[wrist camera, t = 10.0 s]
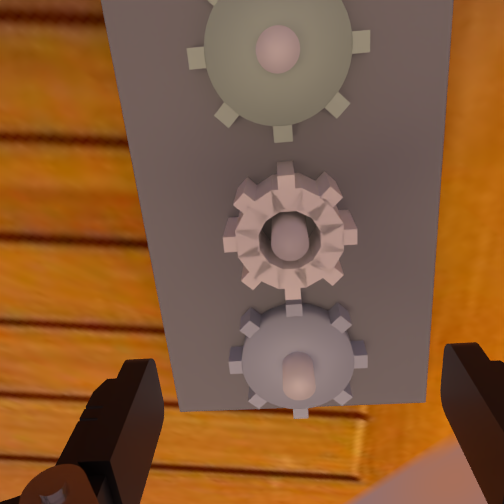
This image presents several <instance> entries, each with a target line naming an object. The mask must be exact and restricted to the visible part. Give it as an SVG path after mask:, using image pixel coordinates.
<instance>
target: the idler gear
mask: <svg viewBox="0 0 504 504" xmlns="http://www.w3.org/2000/svg"><path fill="white" fill-rule="evenodd" d="M342 198H343V196H342V194H341V192H340V190H339V188H338V186H337V183H336V181H335V180H334V179H332V178H331V177H330V176H329V175H328V174H327V173H326V172H325V171H324V172H323V173H322V174H321V175H320V176H319V177H318V178H317V180H316V181H315V180H313V179H311V178H309V177H307V176H305V175H302V174H300V173H294V167H293V161H284V162H277V174H275V175H271V176H270V177H268V178H267V179H265V180H264V181H262V182H261V183H259V184H258V185H256V184H255V183H254V182H253V181H252V180H250V179H249V178H248V177H247V178H246V179H245V180H244V181H243V182H242V184H241V185H240V186H239V187H238V189H237V192H236V196H235V199H234V203H233V205H234V206H235V207H236V208H237V209H238V210H240V212H239V216H238V217H230V218H228V221H227V224H226V228H225V231H224V235H223V245H224V253H226V252H238V258H239V259H240V260H241V262H242V263H243V264H244V265H243V271H242V278H241V281H242V282H243V283H244V284H246V285H247V286H248V287H249V288H251V289H252V290H254V289H255V288H256V287H257V286H258V285H259V284H260V283H261V281H262V282H264V283H266V284H268V285H271V286H273V287H275V288H277V289H285V300H295V299H301V289H300V288H307V287H308V286H310V285H312V284H313V283H315V282H317V281H319V280H320V279H322V278H323V279H325V280H326V281H327V282H328V283H330V284H331V285H332V286H333V285H334V284H335V283H336V282H337V281H338V280H339V279H340V278H341V277H342V276H343V275H344V274H343V271H342V268H341V265H340V261H339V258H340V257H341V255H342V253H343V252H344V245H356V244H357V227H356V225H355V223H354V220H353V218H352V216H351V214H350V212H349V210H338V208H337V206H336V204H337V203H338V202H339V201H340V200H341V199H342ZM290 211H297V212H300V213H302V214H304V215H306V216H308V217H310V218H312V219H313V221H314V222H315V224H316V227H315V229H314V230H313V232H312V234H311V236H310V237H309V248H308V251H307V252H306V254H305V255H304V256H303V257H302V258H300V259H298V260H295V261H285V260H282V259H280V258H278V257H277V256H276V255H275V254H274V252H273V250H272V247H271V241H270V240H269V239H268V238H267V236H266V235H265V233H264V232H263V231H262V227H263V225H264V223H265V221H267V220H268V219H270V218H271V217H273V216H274V215H276V214H278V213H279V212H290Z"/></svg>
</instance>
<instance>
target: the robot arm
mask: <svg viewBox="0 0 504 504" xmlns="http://www.w3.org/2000/svg"><path fill="white" fill-rule="evenodd" d="M441 401H442V406H443V410H444V412H445V415H446V417H447V419H448V421H449V423H450V425H451V427H452V429H453V431H454V434H455V436H456V438H457V440H458V442H459V444H460V446H461V448H462V450H463V452H464V455H465V456H466V459H467V461H468V463H469V465H470V467H471V469H472V471H473V473H474V475H475V478H476V480H477V482H478V484H479V486H480V488H481V490H482V492H483V494H484V496H485V498H486V501H487V503H488V504H504V363H503V362H502V361H500V360H499V361H490V360H489V358H488V357H487V355H486V354H485V353H484V351H483V350H482V348H481V347H480V346H479V344H478V343H476V342H473V343H454V344H446V346H445V348H444V356H443V367H442V378H441ZM163 419H164V402H163V397H162V392H161V387H160V383H159V378H158V373H157V368H156V364H155V361H154V360H153V359H133V360H126V361H125V362H124V363H123V366H122V368H121V370H120V372H119V374H118V376H117V378H116V379H107V380H106V381H105V382H103V383H102V384H101V385H100V386H99V387H98V388H97V389H96V390H95V391H94V392H93V394H92V396H91V398H90V400H89V401H88V403H87V405H86V409H84V411H83V413H82V415H81V417H80V421H79V422H78V423H77V425H76V427H75V429H74V430H73V432H72V434H71V436H70V438H69V440H68V442H67V444H66V446H65V448H64V450H63V452H62V454H61V456H60V458H59V459H58V461H57V463H56V465H55V466H54V467H51V468H49V469H46V470H45V471H43V472H41V473H40V474H38V475H37V476H36V477H34V478H33V479H32V480H31V481H30V482H29V483H28V485H27V486H26V487H25V489H24V490H23V492H22V494H21V495H20V496H18V497H15V498H12V499H9V500H5V501H2V502H0V504H140V501H141V498H142V494H143V491H144V487H145V484H146V480H147V477H148V473H149V470H150V466H151V463H152V459H153V456H154V453H155V449H156V446H157V442H158V439H159V435H160V432H161V428H162V425H163Z"/></svg>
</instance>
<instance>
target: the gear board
mask: <svg viewBox="0 0 504 504" xmlns="http://www.w3.org/2000/svg"><path fill="white" fill-rule="evenodd" d="M101 4H102V9H103V14H104V19H105V24H106V29H107V35H108V40H109V45H110V50H111V55H112V61H113V66H114V71H115V76H116V81H117V87H118V92H119V97H120V102H121V107H122V112H123V118H124V123H125V128H126V133H127V138H128V144H129V149H130V154H131V159H132V164H133V170H134V175H135V180H136V185H137V190H138V195H139V201H140V206H141V211H142V216H143V221H144V227H145V232H146V237H147V242H148V247H149V253H150V258H151V263H152V268H153V273H154V278H155V284H156V289H157V294H158V299H159V304H160V310H161V315H162V320H163V325H164V330H165V336H166V341H167V346H168V351H169V356H170V361H171V367H172V372H173V377H174V382H175V387H176V393H177V398H178V403H179V408H180V412H187V411H213V410H240V409H266V408H290V409H293V414H294V419H299V418H308V408H312V407H318V406H344V405H371V404H397V403H423V402H426V387H427V373H428V359H429V344H430V330H431V316H432V301H433V287H434V272H435V258H436V244H437V229H438V215H439V201H440V186H441V172H442V158H443V143H444V129H445V115H446V100H447V86H448V72H449V57H450V43H451V29H452V14H453V0H101ZM284 161H293V167H294V173H300V174H302V175H305V176H307V177H309V178H311V179H313V180H315V181H316V180H317V178H318V177H319V176H320V175H321V174H322V173H323V172H324V171H325V172H326V173H327V174H328V175H329V176H330V177H331V178H332V179H334V180H335V181H336V183H337V186H338V188H339V190H340V192H341V194H342V196H343V198H342V199H341V200H340V201H339V202H338V203H337V204H336V206H337V208H338V210H349V212H350V214H351V216H352V218H353V220H354V223H355V225H356V227H357V244H356V245H344V252H343V253H342V255H341V257H340V258H339V261H340V265H341V268H342V271H343V274H344V275H343V276H342V277H341V278H340V279H339V280H338V281H337V282H336V283H335V284H334V285H333V286H332V285H331V284H330V283H328V282H327V281H326V280H325V279H323V278H322V279H320V280H319V281H317V282H315V283H313V284H312V285H310V286H308V287H307V288H300V289H301V299H295V300H285V289H277V288H275V287H273V286H271V285H268V284H266V283H264V282H262V281H261V283H260V284H259V285H258V286H257V287H256V288H255V289H254V290H252V289H251V288H249V287H248V286H247V285H246V284H244V283H243V282H242V281H241V278H242V271H243V265H244V264H243V263H242V262H241V260H240V259H239V258H238V252H226V253H224V245H223V235H224V231H225V228H226V224H227V221H228V218H230V217H238V216H239V212H240V210H238V209H237V208H236V207H235V206H234V205H233V203H234V199H235V196H236V192H237V189H238V187H239V186H240V185H241V184H242V182H243V181H244V180H245V179H246V178H247V177H248V178H249V179H250V180H252V181H253V182H254V183H255V184H256V185H258V184H259V183H261V182H262V181H264V180H265V179H267V178H268V177H270V176H271V175H275V174H277V162H284ZM315 227H316V224H315V222H314V221H313V219H312V218H310V217H308V216H306V215H304V214H302V213H300V212H297V211H290V212H279V213H278V214H276V215H274V216H273V217H271V218H270V219H268V220H267V221H265V223H264V225H263V227H262V231H263V232H264V233H265V235H266V236H267V238H268V239H269V240H270V241H271V247H272V250H273V252H274V254H275V255H276V256H277V257H278V258H280V259H282V260H285V261H295V260H298V259H300V258H302V257H303V256H304V255H305V254H306V252H307V251H308V248H309V237H310V236H311V234H312V232H313V230H314V229H315Z"/></svg>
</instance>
